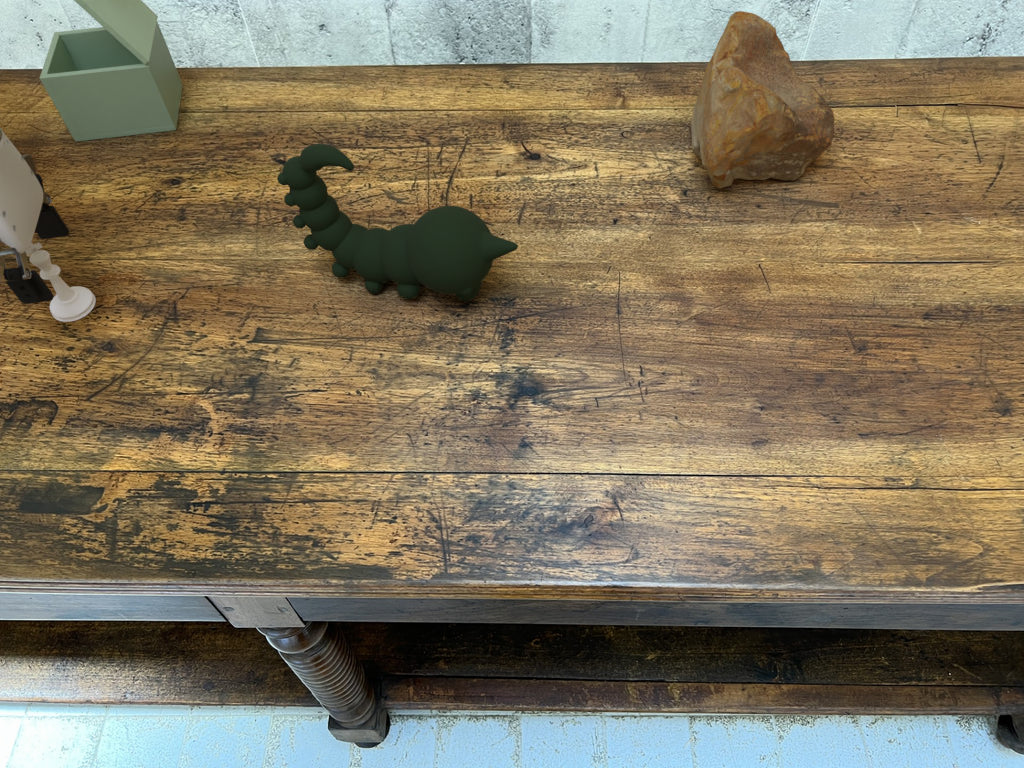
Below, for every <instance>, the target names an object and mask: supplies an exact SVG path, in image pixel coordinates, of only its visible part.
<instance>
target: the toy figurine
mask: <svg viewBox="0 0 1024 768" xmlns="http://www.w3.org/2000/svg"><path fill="white" fill-rule="evenodd" d="M282 166H283V167H282V172H279V173H278V175H277V178H276V179H277V182H278V184H280V185H281V186H288V187H289V191H288V193H286V194H285V195H284V198H283V201H284V203H285V205H287V206H288V207H290V208H291V207H294V206H297V208H299V209H298V211H299V214H296V215H295V216H294V217H293V219H292V224H293V227H294V228H296V229H300V230H302V229H304V228H305V227H307V228H308V229H309V230H310V234H307V235H306V236H305V237H304V239H303V245H304V247H305V248H306V249H307V250H309V251H316V250H317V249H318V248H319V247H320V248H321V249H322V250H324V251H328V252H330V253H331V254H332V257H333V258H334V260H335V261H334V262H333V264H332V265H331V271H332V275H333V276H334V277H335V278H337V279H343V278H347V277H348V276H349V275H350V273H351V270H354V271H356V273H357V274H358V275H359V276H360V277H361V278H363V280H365V282H364V288H365V289H366V291H368V293H370V294H378V293H380V292H381V291H382V289H383V287H384V283H388V282H391V281H392V282H393V283H394V284H397V285H396V287H397V292H398V296H400V297H402V298H403V299H405V300H407V301H409V300H414V299H415V298H418V297H419V295H420V293H421V285H423V286H424V287H426V288H427V289H429V290H430V291H434V292H436V293H439V294H443V295H454V296H455V297H456V299H458V300H460V301H463V302H468V301H472V300H473V299H475V298H476V297H477V296H478V294H479V292H480V290H481V287H482V283H483V281H484V280H485V278H486V277H487V276H488V274H489V273H490V271H491V268H492V266H493V262H494V260H496V259H499V258H501V257H503V256H506V255H507V254H510V253H512V252H514V251H516V250H518V248H519V245H518V244H517V243H516V242H514V241H511V240H508V239H505V238H502V237H500V236H496V235H494V234H492V231H491V230H490V228H489V226H488V225H487V224H486V223H485V221H484V220H483V219H482V218H481V217H480V216H479V215H477V214H476V213H474V212H472V211H471V210H469V209H468V208H464V207H462V206H459V205H442V206H439V207H435V208H432V209H430V210H428V211H426V212H425V213H423V214H422V215H421V216H420V217H419V218H418V219H417V220H416V221H415V222H414V223H406V224H398V225H395V226H393V227H392V228H391V229H386V228H384V227H371V228H367V227H366V226H364V225H362V224H358V223H353V222H352V220H351V219H350V217H349V216H348V214H346V213H345V212H343V211H342V210H340V208H339V203H338V202H337V200H336V199H335V197H333V196H332V195H330V194H329V193H328V185H327V184H326V182H325V181H324V179H323V178H322V177H321V176H319V175H318V173H317V172H318V171H321V170H322V169H323V168H324V167H339V168H343V169H344V170H346V171H349V172H352V171H354V169H355V165H354V163H353V161H352V160H351V159H350V158H349V156H347V155H346V154H345V153H344V152H343V151H342V150H340V149H338V148H336V147H335V146H333V145H329V144H325V143H316V144H311V145H308V146H306V147H304V148H303V149H302V150H301V152H300V154H299V155H297V156H293V157H290V158H288V159H287V160H286V161H285V162H284V164H283V165H282Z"/></svg>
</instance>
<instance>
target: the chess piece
mask: <svg viewBox="0 0 1024 768" xmlns="http://www.w3.org/2000/svg"><path fill="white" fill-rule="evenodd" d="M42 248H43V245H42V243H41V242H36V243H35V244H34V243H33V241H32V242H31V244H30V246H29V248H28V249H27V250H26V255H27V257H29V263H30V264H32V265H33V266H35V267H37V268H38V270H39V276H40V277H41V278H42V280H43V281H44V280H45V281H49V282H50V284H51V286H52V287H53V289H54V291H55V294H54V296H53V300H52V301H50V303H49V311H50V313H51V315H52V317H53V318H54V319H55V320H57V321H58V322H62V323H69V322H70V323H71V322H76V321H78V320H81V319H84V318H85V317H86V316H88V315H89V314H90V313H91V312H92V311H93V309H94V307H95V306H96V302H97V299H96V295H95V294H94V292H92V291H91V290H90V288H88V287H85V286H81V285H76V286H75V285H74V286H69V285H68V284H67V283H66V281H64V280H63V279H62V278H61V276H60V273H61V268H60V266H59V265H57V264H52V260H51V255H50V253H49V252H48V251H47V250H45V249H42Z"/></svg>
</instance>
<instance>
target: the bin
mask: <svg viewBox="0 0 1024 768" xmlns="http://www.w3.org/2000/svg"><path fill="white" fill-rule="evenodd" d="M39 80H40V82H41V83H42V85H43V87H44V89H45V91H46V92H47V94H48V96H49V98H50V100H51V102H52V103H53V105H54V106H55V109H56V110H57V112H58V114H59V115H60V117H61V119H62V121H63V123H64V125H65V126H66V128H67V130H68V132H69V133H70V136H71V137H72V138H73V140H74V142H77V143H78V142H86V141H93V140H102V139H103V140H104V139H111V138H120V137H128V136H129V137H130V136H138V135H145V134H155V133H164V132H172V131H177V127H178V120H179V114H180V108H181V99H182V94H183V86H184V84H183V82H182V78H181V77H180V74H179V71H178V69H177V66H176V65H175V61H174V59H173V57H172V55H171V52H170V49H169V47H168V44H167V42H166V40H165V37H164V35H163V32H162V29H161V27H160V25H159V22H158V21H157V23H156V28H155V34H154V39H153V44H152V49H151V54H150V59H149V62H148V63H146V64H143V63H142V62H141V61H140V60H139V59H138V58H137V57H136V56H135V55H134V54H132V53H131V52H130V51H129V50H128V49H127V48H126V47H125V46H124V45H123V44H121V43H120V42H119V41H118V40H117V39H116V38H115V37H114V36H113V35H112V34H110V33H109V32H108V31H107V30H106V29H105V28H104V27H103V26H101V27H91V28H90V27H89V28H82V29H81V28H80V29H72V30H71V29H70V30H63V31H55V32H53V36H52V38H51V41H50V45H49V48H48V51H47V54H46V57H45V59H44V63H43V66H42V69H41V73H40V75H39Z"/></svg>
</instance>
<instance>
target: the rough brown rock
mask: <svg viewBox="0 0 1024 768" xmlns="http://www.w3.org/2000/svg"><path fill="white" fill-rule="evenodd" d="M777 33H778V32H777V29H776V27H775V26H774V25H773V24H771V23H770V22H769V21H768V20H766V19H764V18H763V17H761V16H759V15H757V14H756V13H752V12H748V11H744V10H743V11H742V10H739V11H735V12H734V13H732V14H731V15H730V17H729V19H728V21H727V23H726V26H725V28H724V30H723V33H722V35H721V36H720V38H719V39H718V41H717V44H716V47H715V49H714V51H713V53H712V56H711V58H710V60H709V61H708V64H707V66H706V68H705V71H704V74H703V77H702V81H701V84H700V88H699V91H698V95H697V99H696V102H695V104H694V106H693V109H692V115H691V121H690V132H691V149H692V152H693V154H694V155H695V156H697V158H699V159H700V160H701V165H702V166H703V169H704V170H706V172H707V175H708V177H709V180H710V182H711V184H712V185H713V187H716V188H717V189H722V188H726V187H730V186H732V184H733V182H734V181H735V180H737V179H742V180H746V181H747V180H748V181H754V180H755V181H756V180H757V181H758V180H760V181H763V180H769V179H771V178H772V179H775V180H780V181H793V182H794V181H796V180H797V179H799V178H800V177H802V176H803V175H804V174H805V173H806V171H807V170H808V169H809V168H810V166H811V164H812V163H813V162H815V161H816V160H817V159H818V158H819V157H820V156H821V155H822V154H823V153H824V152H825V151H826V150H828V148H830V146H831V145H832V143H833V139H834V136H835V114H834V111H833V109H832V108H831V106H830V104H829V103H828V102H827V101H826V99H825V98H824V97H823V96H822V94H821V93H820V92H819V91H818V89H816V88H815V87H814V86H813V85H812V84H808V83H807V82H806V81H805V80H804V79H802V78H801V77H800V76H798V74H797V73H796V71H795V69H794V67H793V65H792V62H791V58H790V55H789V53H788V52H787V51H786V49H785V47H784V43H783V42H782V41H781V39H780V38H779V36H778V34H777Z"/></svg>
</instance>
